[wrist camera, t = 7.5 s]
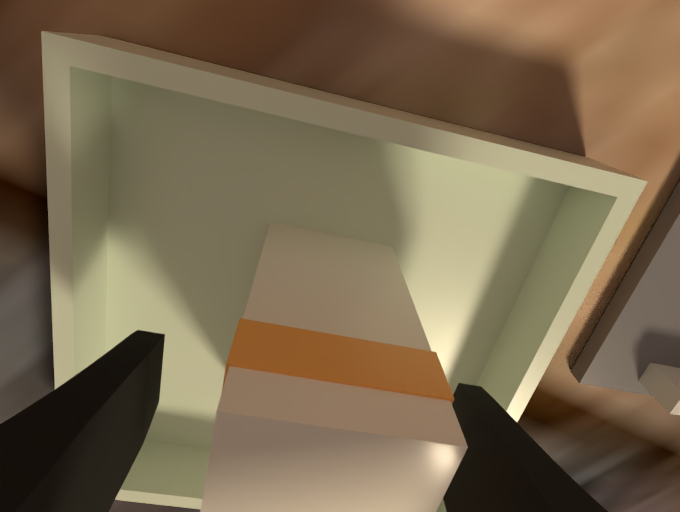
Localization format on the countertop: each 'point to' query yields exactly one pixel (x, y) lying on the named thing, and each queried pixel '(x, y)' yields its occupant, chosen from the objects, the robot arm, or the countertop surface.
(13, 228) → the countertop surface
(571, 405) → the countertop surface
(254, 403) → the block
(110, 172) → the tray
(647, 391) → the fuse holder
